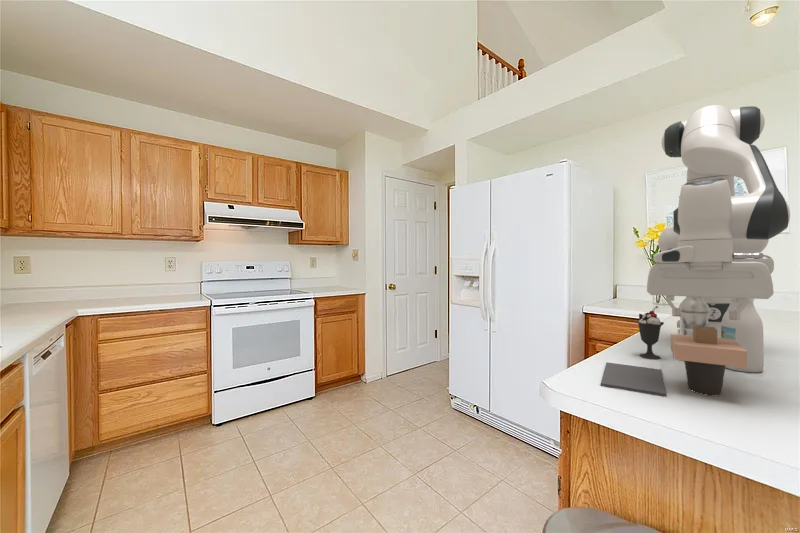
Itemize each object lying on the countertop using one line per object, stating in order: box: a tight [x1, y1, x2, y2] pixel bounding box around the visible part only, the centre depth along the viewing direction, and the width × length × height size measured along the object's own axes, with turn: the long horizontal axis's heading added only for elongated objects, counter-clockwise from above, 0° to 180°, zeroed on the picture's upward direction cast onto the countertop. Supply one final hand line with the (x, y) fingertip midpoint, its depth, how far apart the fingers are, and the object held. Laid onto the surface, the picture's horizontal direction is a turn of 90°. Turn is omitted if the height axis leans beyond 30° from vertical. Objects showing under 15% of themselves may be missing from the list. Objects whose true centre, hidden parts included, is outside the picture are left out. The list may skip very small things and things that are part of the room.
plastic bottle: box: [678, 296, 710, 336], centre depth 94 cm, size 6×7×20 cm
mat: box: [600, 362, 667, 397], centre depth 83 cm, size 18×12×1 cm, turn 145°
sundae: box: [635, 305, 665, 360], centre depth 99 cm, size 7×7×15 cm
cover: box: [670, 326, 747, 368], centre depth 74 cm, size 11×11×6 cm
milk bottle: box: [721, 298, 765, 374], centre depth 87 cm, size 8×8×20 cm
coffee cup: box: [684, 361, 726, 396], centre depth 74 cm, size 8×8×10 cm
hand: (704, 317), depth 74 cm, fingers open, 8 cm apart
